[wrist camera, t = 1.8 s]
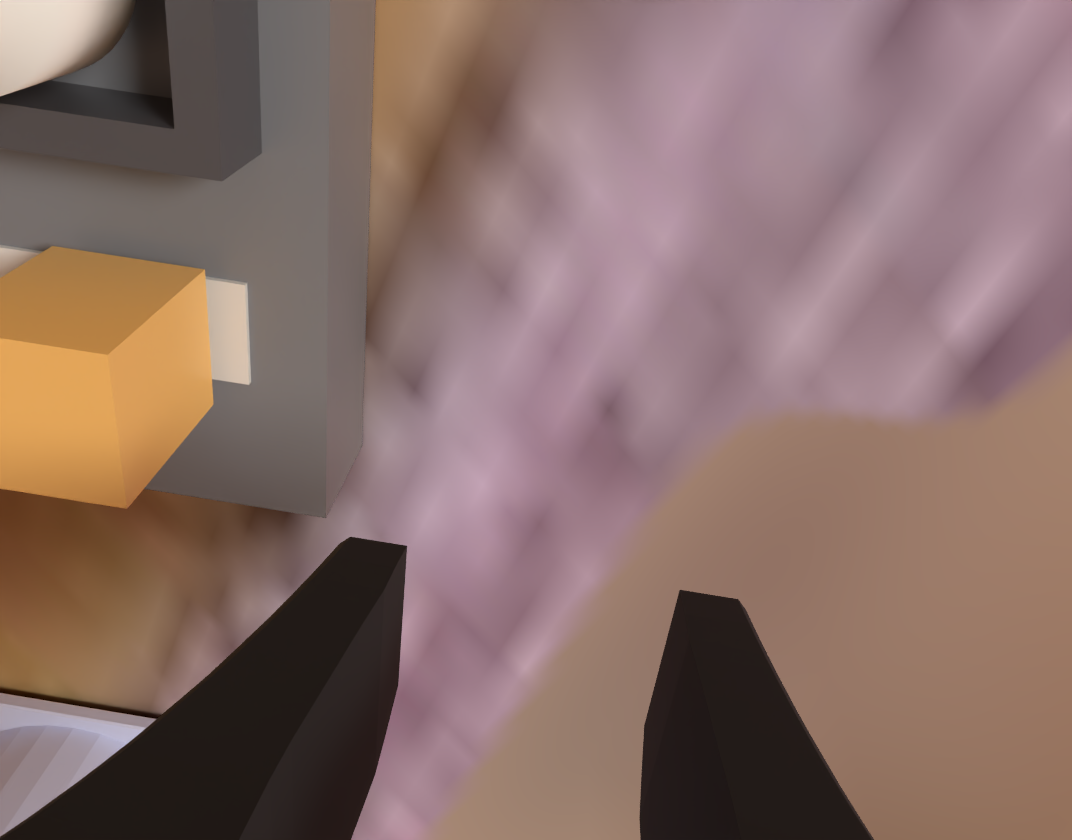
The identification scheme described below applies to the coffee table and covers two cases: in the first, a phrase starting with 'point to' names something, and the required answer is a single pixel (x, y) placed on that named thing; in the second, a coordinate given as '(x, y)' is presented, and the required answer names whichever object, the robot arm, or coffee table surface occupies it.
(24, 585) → the coffee table surface
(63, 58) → the white button
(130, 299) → the slider knob
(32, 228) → the control panel
